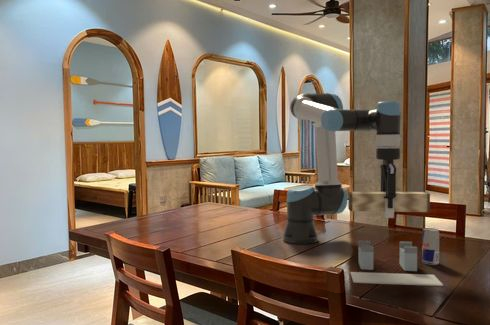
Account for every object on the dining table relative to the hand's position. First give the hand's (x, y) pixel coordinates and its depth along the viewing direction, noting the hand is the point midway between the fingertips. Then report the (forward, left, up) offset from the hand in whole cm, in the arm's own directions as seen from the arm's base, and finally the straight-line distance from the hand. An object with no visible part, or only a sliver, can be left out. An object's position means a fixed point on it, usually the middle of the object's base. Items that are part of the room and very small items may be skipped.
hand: (387, 215), depth 137 cm
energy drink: (+16, +7, -18) cm, 25 cm away
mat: (0, -12, -18) cm, 21 cm away
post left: (-7, +1, -18) cm, 19 cm away
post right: (+7, +1, -18) cm, 19 cm away
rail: (0, 0, +2) cm, 2 cm away
